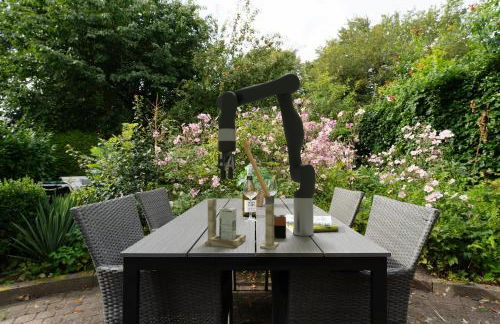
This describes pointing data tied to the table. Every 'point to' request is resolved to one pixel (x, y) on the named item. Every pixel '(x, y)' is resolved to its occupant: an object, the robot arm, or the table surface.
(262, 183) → the tan wooden bar
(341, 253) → the table surface
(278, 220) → the battery
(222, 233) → the syrup box
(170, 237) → the table surface
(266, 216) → the clamp rig
